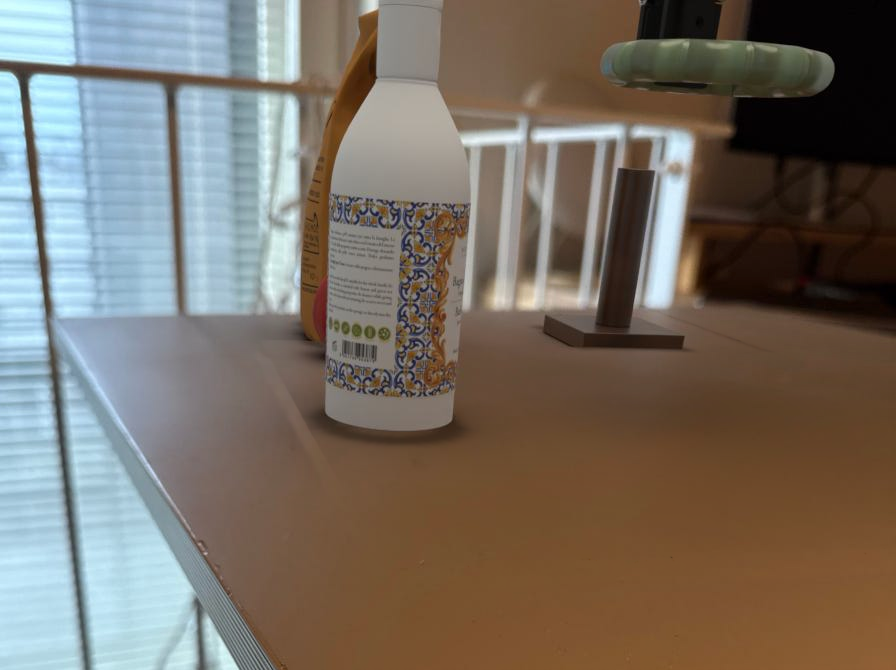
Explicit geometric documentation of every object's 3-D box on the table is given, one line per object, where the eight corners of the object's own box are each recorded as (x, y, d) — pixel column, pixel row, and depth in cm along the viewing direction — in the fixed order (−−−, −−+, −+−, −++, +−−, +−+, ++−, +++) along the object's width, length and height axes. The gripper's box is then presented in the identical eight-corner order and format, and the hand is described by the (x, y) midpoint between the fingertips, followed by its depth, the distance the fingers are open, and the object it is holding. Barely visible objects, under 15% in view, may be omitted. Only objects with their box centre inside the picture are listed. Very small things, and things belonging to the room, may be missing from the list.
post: (634, 334, 88) (661, 170, 82) (681, 353, 80) (715, 174, 74) (542, 331, 86) (563, 163, 80) (582, 351, 78) (608, 167, 72)
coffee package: (414, 327, 83) (433, 27, 73) (435, 356, 72) (460, 8, 62) (298, 322, 81) (301, 15, 71) (301, 350, 71) (305, -7, 60)
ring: (746, 100, 57) (753, 65, 56) (876, 96, 47) (886, 53, 46) (566, 84, 54) (570, 47, 53) (664, 76, 44) (671, 30, 43)
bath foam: (440, 453, 49) (477, -16, 40) (309, 437, 50) (316, -25, 41) (459, 421, 55) (496, 7, 46) (342, 407, 56) (355, 0, 47)
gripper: (915, -415, 40) (809, 88, 49) (718, -279, 54) (661, 97, 62) (759, -454, 38) (676, 76, 47) (595, -303, 52) (554, 88, 60)
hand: (668, 85), depth 55 cm, fingers closed on ring, 2 cm apart
